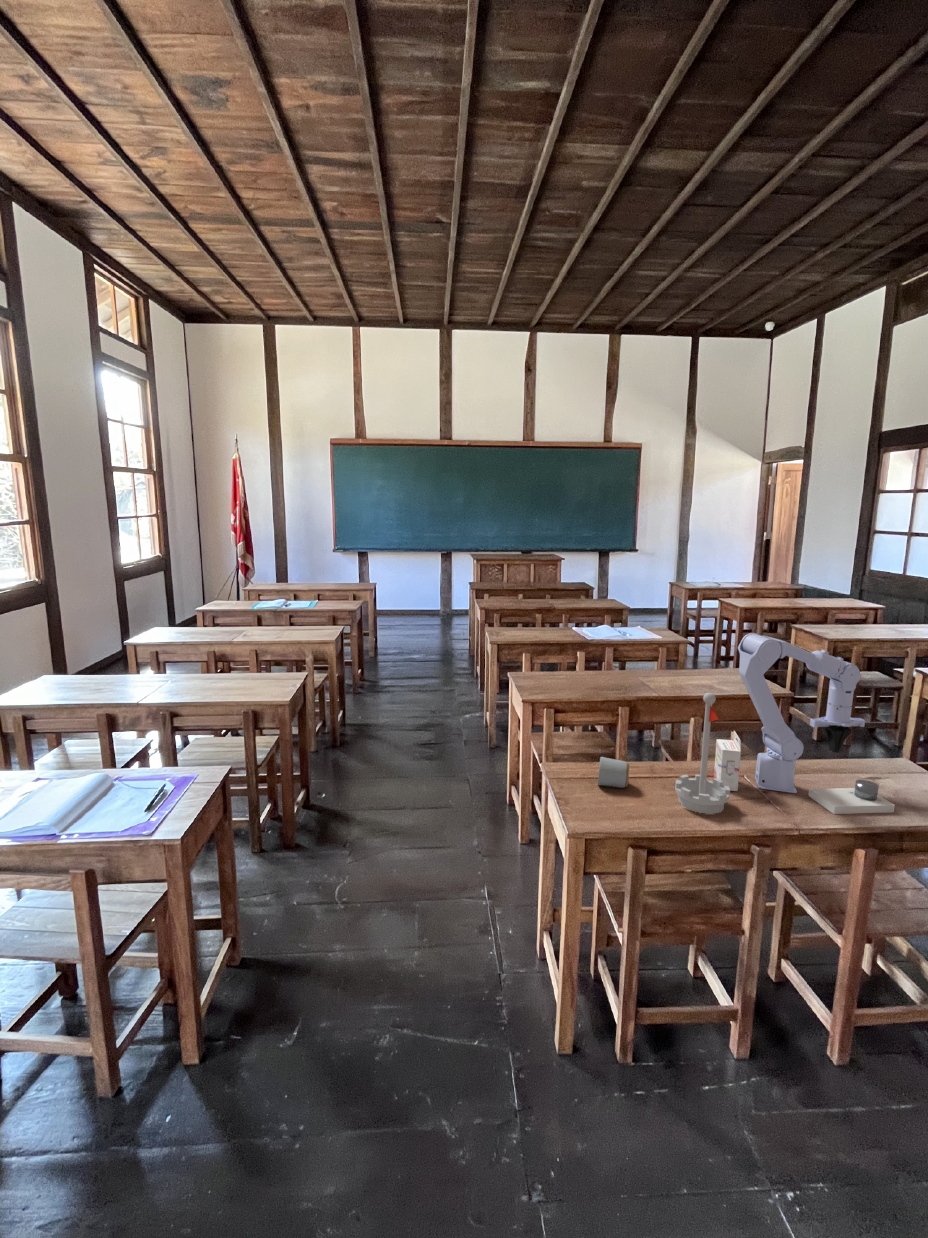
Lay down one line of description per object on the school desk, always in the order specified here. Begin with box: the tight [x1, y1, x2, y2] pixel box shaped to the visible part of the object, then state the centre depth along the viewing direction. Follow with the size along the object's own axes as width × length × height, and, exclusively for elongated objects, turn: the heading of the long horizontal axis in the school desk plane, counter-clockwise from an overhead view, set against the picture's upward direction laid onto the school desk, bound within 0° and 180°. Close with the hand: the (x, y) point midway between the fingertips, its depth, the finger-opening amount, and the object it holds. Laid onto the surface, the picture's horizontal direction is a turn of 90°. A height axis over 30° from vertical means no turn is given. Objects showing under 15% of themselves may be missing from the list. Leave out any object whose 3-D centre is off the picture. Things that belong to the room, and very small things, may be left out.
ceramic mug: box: [597, 756, 630, 789], centre depth 165 cm, size 11×8×8 cm
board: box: [807, 787, 896, 815], centre depth 155 cm, size 16×10×2 cm, turn 94°
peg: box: [854, 779, 880, 801], centre depth 155 cm, size 5×5×5 cm
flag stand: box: [674, 692, 730, 815], centre depth 152 cm, size 13×13×30 cm
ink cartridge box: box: [713, 730, 742, 792], centre depth 165 cm, size 9×5×15 cm, turn 168°
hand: (834, 751), depth 165 cm, fingers closed
